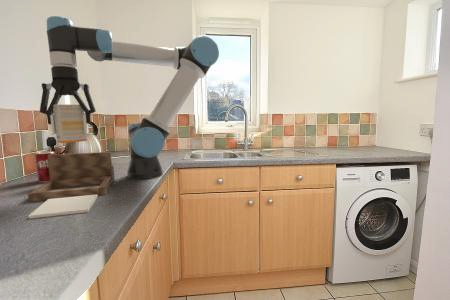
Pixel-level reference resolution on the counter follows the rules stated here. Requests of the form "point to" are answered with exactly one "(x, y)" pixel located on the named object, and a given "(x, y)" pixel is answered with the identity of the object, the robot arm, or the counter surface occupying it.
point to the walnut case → (76, 175)
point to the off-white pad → (64, 206)
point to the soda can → (43, 166)
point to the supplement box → (69, 123)
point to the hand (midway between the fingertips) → (71, 133)
